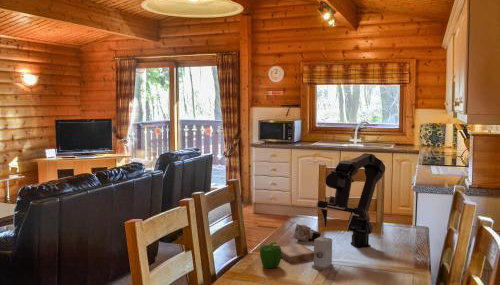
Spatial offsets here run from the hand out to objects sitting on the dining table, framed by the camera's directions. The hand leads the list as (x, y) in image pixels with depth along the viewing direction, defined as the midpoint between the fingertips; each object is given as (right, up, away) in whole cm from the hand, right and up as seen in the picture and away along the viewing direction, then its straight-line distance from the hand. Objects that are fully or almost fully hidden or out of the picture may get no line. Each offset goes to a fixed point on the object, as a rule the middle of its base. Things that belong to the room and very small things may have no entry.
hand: (336, 229), depth 199 cm
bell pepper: (-27, -13, -10) cm, 32 cm away
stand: (-17, -11, +2) cm, 20 cm away
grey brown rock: (-9, -9, +26) cm, 29 cm away
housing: (-7, -13, -10) cm, 18 cm away
